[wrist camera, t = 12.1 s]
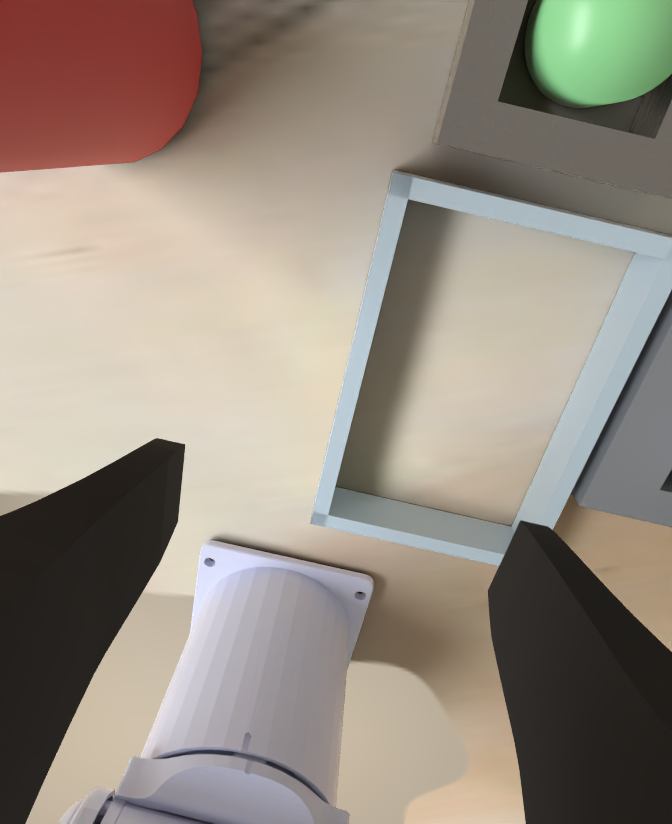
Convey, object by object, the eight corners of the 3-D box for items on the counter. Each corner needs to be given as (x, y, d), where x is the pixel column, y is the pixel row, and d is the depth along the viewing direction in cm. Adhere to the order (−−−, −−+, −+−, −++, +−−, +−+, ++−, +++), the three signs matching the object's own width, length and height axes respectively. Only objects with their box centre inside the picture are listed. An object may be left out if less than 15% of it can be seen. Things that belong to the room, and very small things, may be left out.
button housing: (647, 193, 17) (678, 199, 15) (432, 142, 17) (436, 142, 15) (773, -92, 14) (829, -125, 12) (509, -156, 14) (528, -201, 12)
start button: (625, 121, 16) (663, 117, 14) (506, 92, 16) (525, 84, 14) (686, -31, 14) (738, -61, 12) (554, -64, 14) (583, -100, 12)
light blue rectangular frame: (520, 540, 24) (530, 573, 22) (316, 494, 23) (310, 523, 22) (663, 233, 18) (694, 243, 16) (393, 169, 18) (393, 172, 16)
